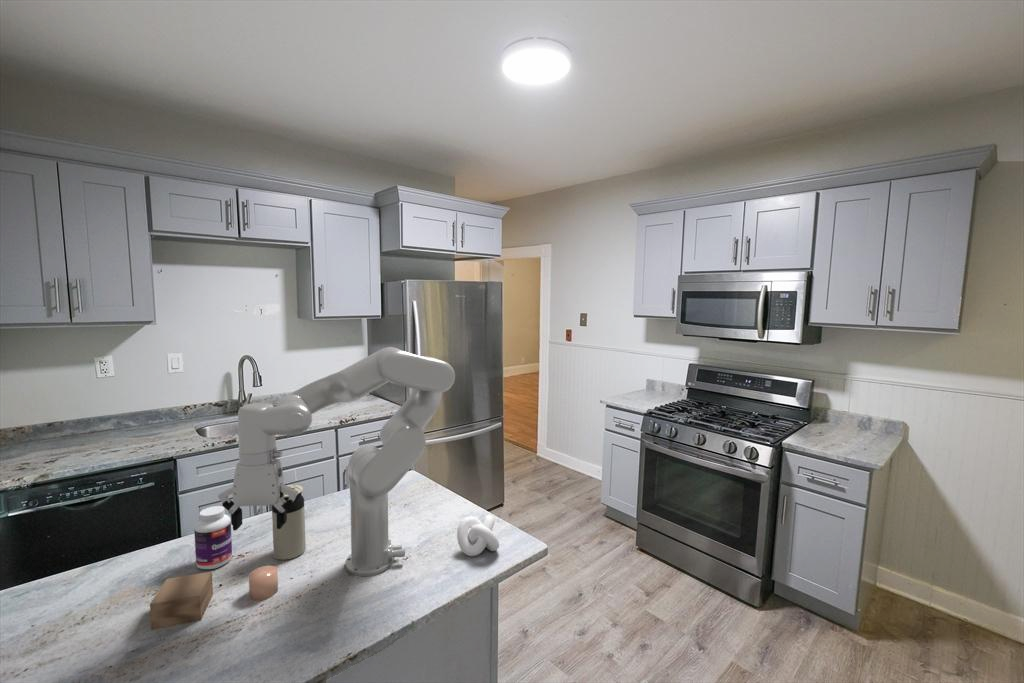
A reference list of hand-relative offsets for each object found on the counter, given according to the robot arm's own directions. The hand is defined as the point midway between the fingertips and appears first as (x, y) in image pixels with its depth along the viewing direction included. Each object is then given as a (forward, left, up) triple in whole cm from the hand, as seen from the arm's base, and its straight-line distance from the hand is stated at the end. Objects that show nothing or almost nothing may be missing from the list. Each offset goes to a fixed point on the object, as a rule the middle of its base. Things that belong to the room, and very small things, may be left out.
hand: (259, 526), depth 106 cm
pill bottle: (+18, -14, -17) cm, 28 cm away
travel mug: (0, -17, -17) cm, 24 cm away
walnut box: (+15, +5, -17) cm, 23 cm away
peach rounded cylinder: (0, 0, -17) cm, 17 cm away
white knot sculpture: (-53, -13, -17) cm, 58 cm away
